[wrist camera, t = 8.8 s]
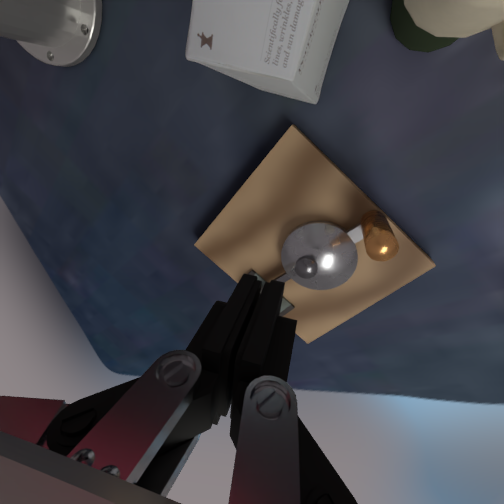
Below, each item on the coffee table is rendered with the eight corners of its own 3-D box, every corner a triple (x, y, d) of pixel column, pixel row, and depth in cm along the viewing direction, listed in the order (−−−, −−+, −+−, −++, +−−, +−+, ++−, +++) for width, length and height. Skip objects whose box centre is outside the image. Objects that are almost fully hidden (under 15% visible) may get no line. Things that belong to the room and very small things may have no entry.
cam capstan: (272, 315, 35) (261, 350, 30) (232, 271, 34) (213, 300, 29) (407, 245, 27) (424, 277, 22) (360, 182, 25) (367, 200, 20)
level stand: (199, 240, 36) (192, 246, 34) (293, 124, 26) (291, 125, 25) (308, 335, 38) (307, 345, 36) (431, 259, 29) (437, 267, 27)
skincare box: (317, 105, 25) (297, 97, 12) (256, 89, 26) (179, 66, 13) (354, -15, 21) (381, -211, 8) (280, -30, 22) (201, -230, 9)
